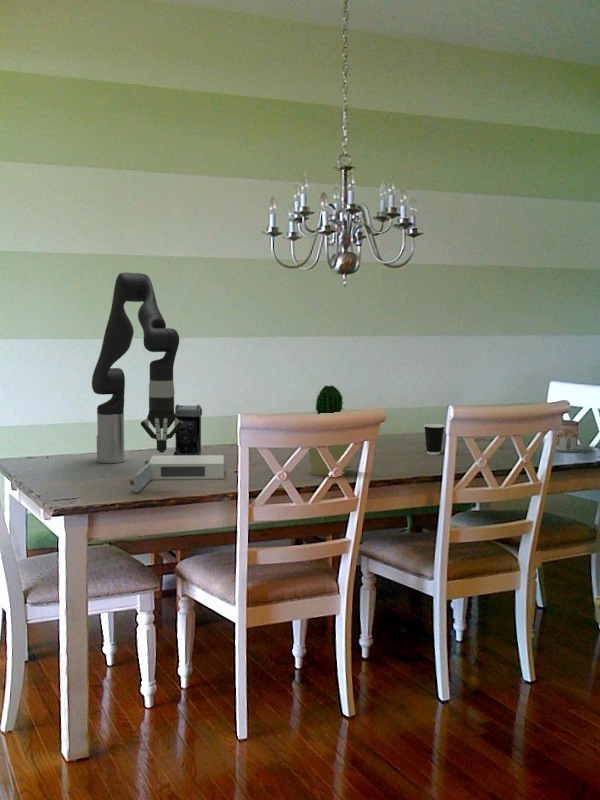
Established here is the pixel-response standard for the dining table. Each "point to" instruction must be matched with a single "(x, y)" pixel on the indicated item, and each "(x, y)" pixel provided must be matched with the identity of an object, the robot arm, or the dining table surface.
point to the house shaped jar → (568, 437)
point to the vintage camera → (188, 430)
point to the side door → (142, 477)
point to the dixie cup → (434, 438)
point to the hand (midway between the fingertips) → (161, 452)
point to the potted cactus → (327, 403)
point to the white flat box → (188, 467)
